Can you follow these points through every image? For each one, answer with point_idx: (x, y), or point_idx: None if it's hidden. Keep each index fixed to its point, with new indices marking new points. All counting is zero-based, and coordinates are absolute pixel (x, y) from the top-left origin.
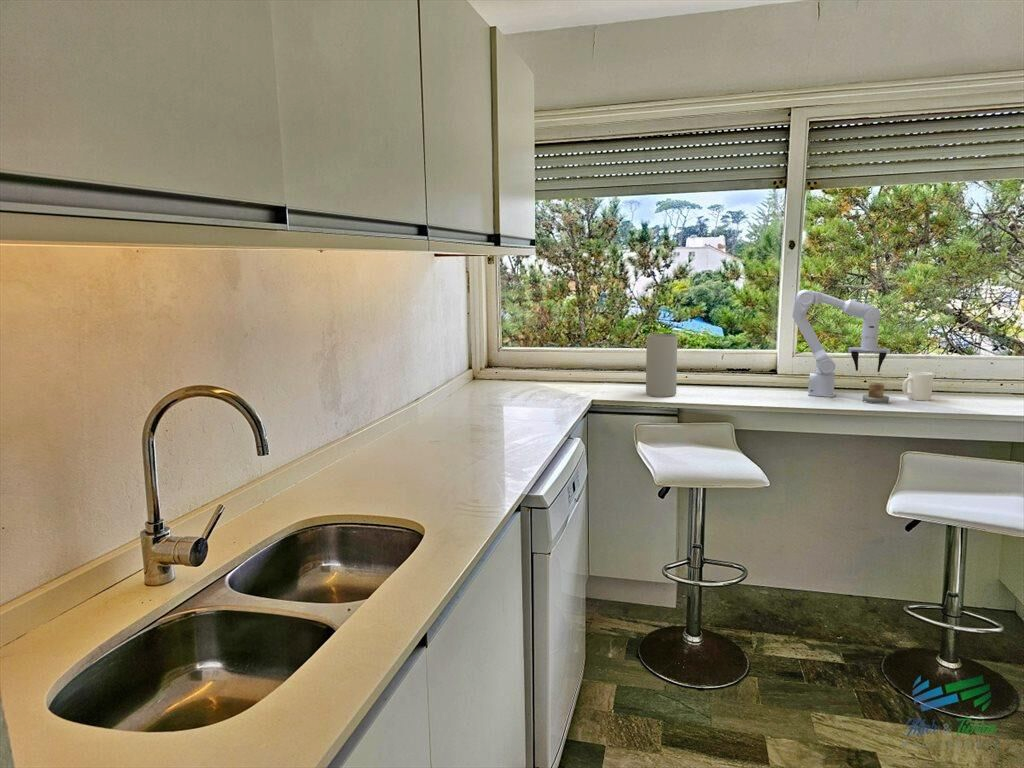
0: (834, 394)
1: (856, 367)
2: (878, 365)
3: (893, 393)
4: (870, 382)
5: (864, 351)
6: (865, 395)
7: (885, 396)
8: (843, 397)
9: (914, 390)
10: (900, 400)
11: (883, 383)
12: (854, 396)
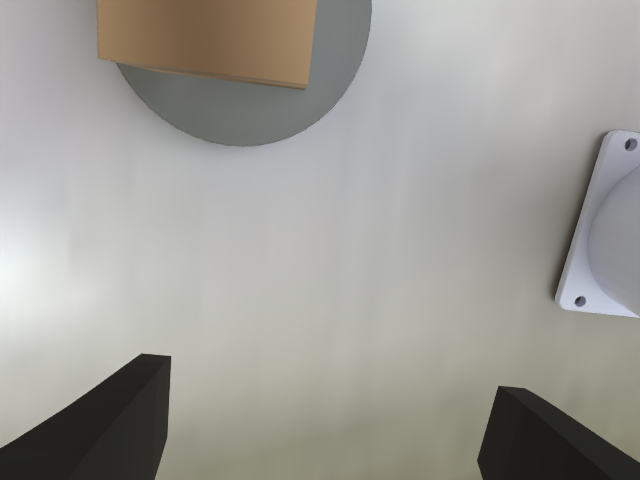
0: (584, 218)
1: (560, 415)
2: (107, 421)
3: None
4: (298, 81)
5: None
6: (342, 45)
7: None
8: (510, 164)
9: None
10: (21, 159)
11: (109, 29)
12: (408, 243)
